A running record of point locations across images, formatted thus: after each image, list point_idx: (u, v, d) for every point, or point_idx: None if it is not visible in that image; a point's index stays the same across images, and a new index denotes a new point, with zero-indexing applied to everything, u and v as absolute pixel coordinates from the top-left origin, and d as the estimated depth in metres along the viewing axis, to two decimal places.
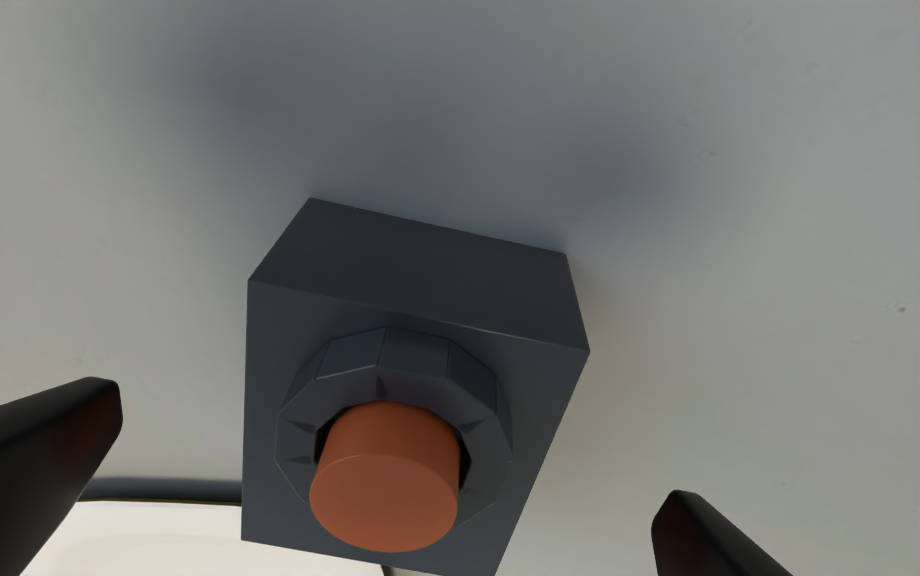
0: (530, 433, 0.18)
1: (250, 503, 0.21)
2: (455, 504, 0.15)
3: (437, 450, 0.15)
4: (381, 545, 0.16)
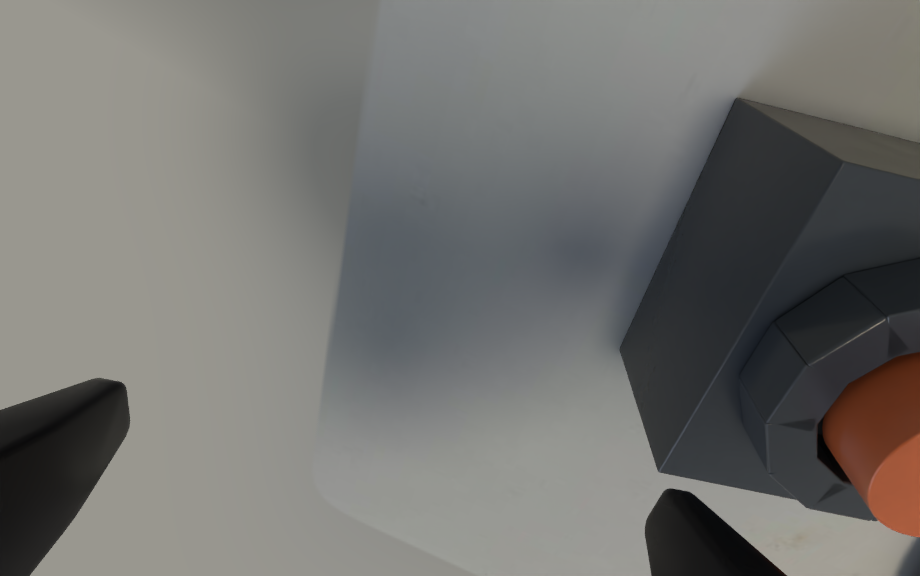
0: None
1: None
2: None
3: (909, 400, 0.12)
4: None
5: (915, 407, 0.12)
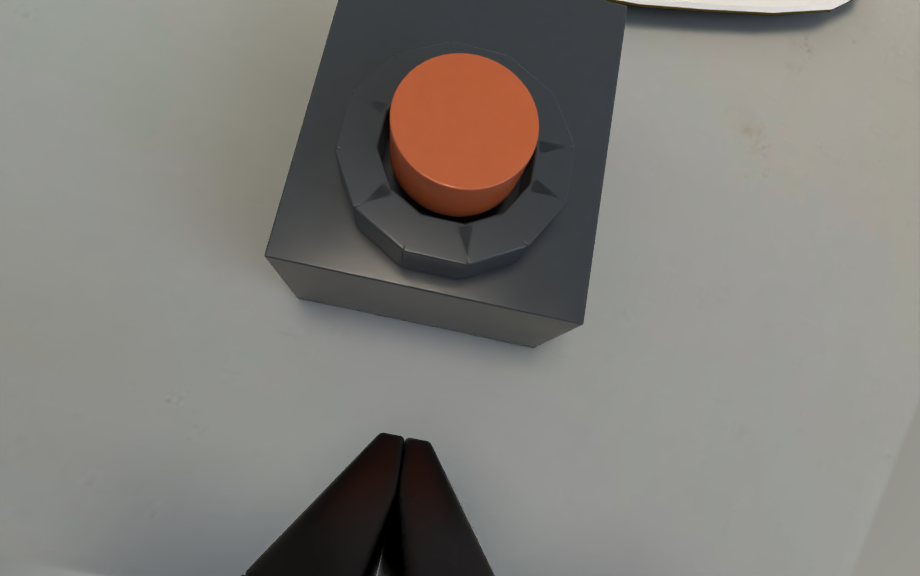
0: (319, 154, 0.18)
1: (611, 58, 0.20)
2: (391, 123, 0.15)
3: (410, 178, 0.15)
4: (469, 63, 0.15)
5: (410, 175, 0.15)
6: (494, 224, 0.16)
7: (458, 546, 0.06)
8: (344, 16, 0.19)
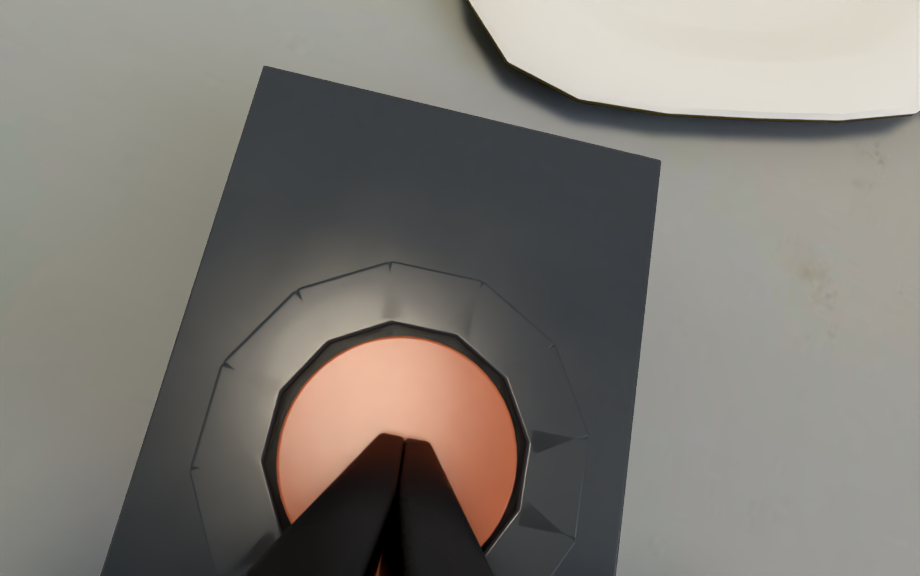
0: (188, 427, 0.11)
1: (639, 244, 0.13)
2: (278, 472, 0.09)
3: None
4: (408, 355, 0.10)
5: None
6: None
7: (458, 546, 0.06)
8: (238, 193, 0.13)
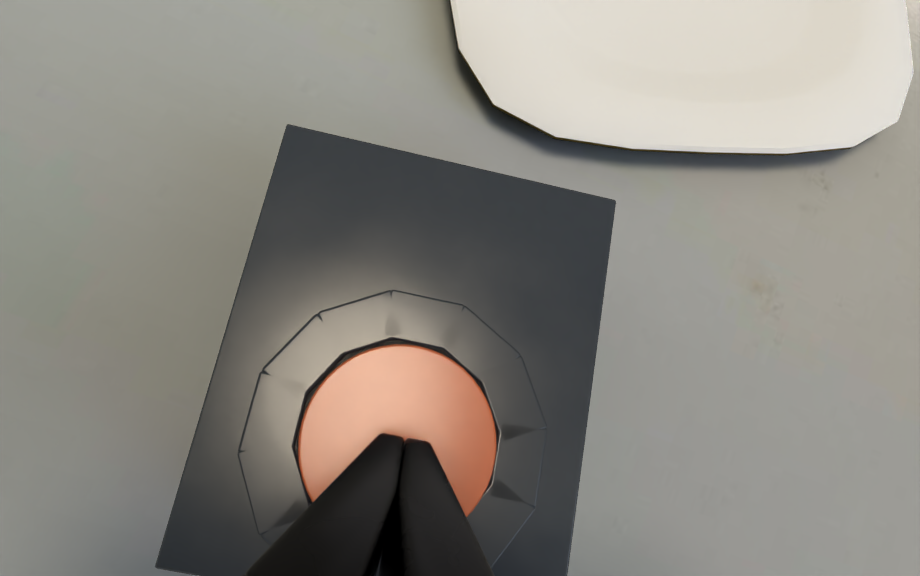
0: (230, 421, 0.14)
1: (595, 271, 0.16)
2: (299, 456, 0.11)
3: None
4: (406, 360, 0.12)
5: None
6: None
7: (458, 546, 0.06)
8: (268, 231, 0.15)
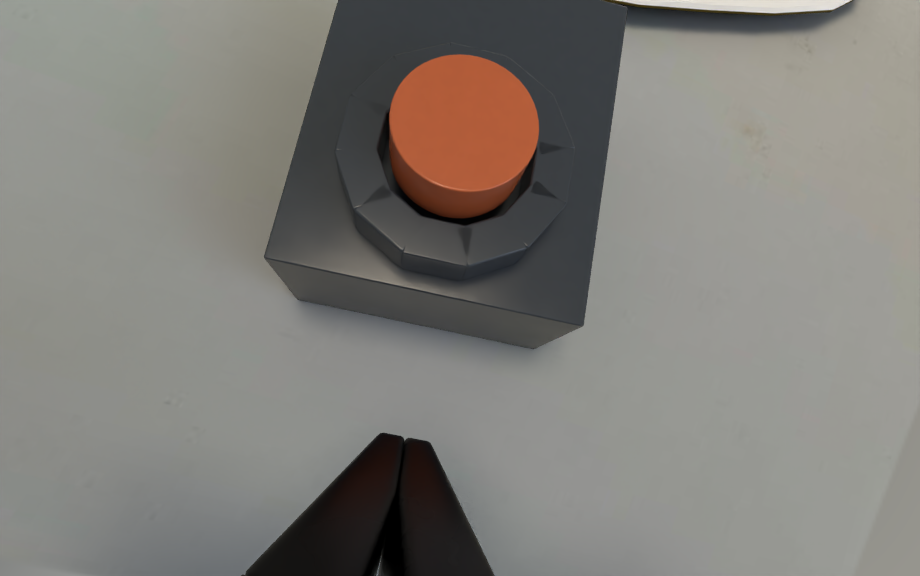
0: (318, 155, 0.18)
1: (611, 59, 0.20)
2: (390, 125, 0.15)
3: (410, 179, 0.15)
4: (469, 65, 0.15)
5: (410, 176, 0.15)
6: (494, 226, 0.16)
7: (458, 546, 0.06)
8: (344, 17, 0.19)
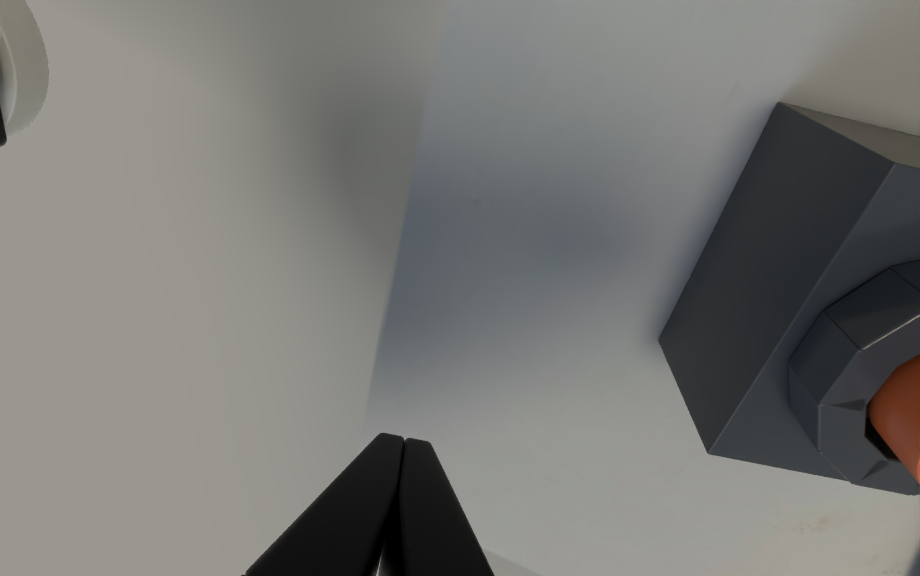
0: None
1: None
2: None
3: None
4: None
5: None
6: (855, 428, 0.15)
7: (458, 546, 0.06)
8: None
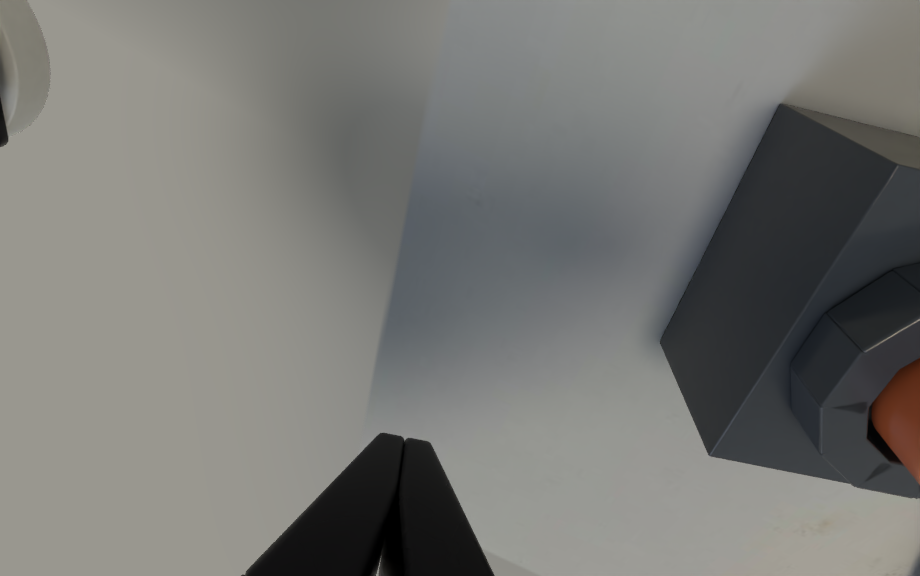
0: None
1: None
2: None
3: None
4: None
5: None
6: (857, 431, 0.15)
7: (458, 546, 0.06)
8: None
